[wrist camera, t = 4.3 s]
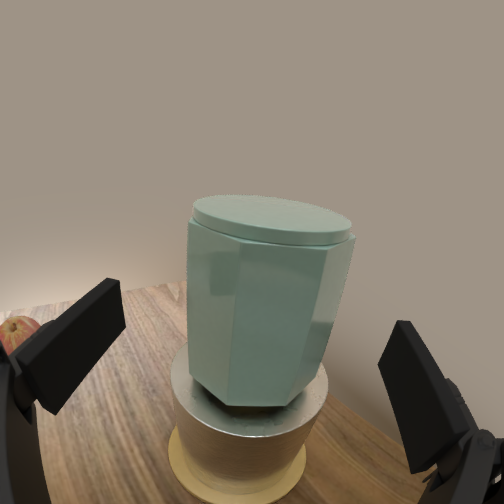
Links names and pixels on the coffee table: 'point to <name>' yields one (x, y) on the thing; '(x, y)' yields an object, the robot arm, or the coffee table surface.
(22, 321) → the apple
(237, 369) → the jar
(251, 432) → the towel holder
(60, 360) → the robot arm
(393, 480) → the coffee table surface
